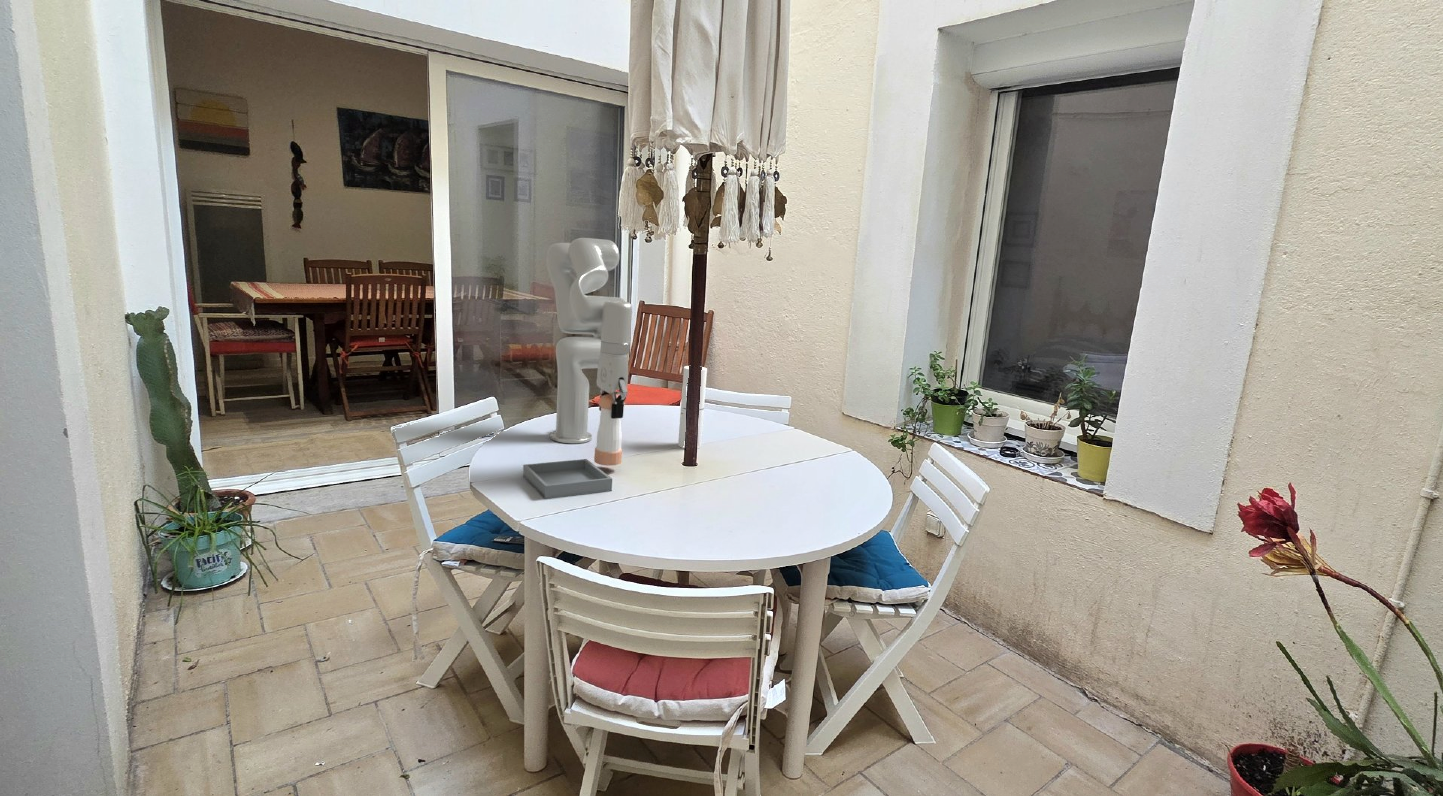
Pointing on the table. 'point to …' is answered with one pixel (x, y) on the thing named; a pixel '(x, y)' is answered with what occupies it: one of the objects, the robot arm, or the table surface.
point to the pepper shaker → (608, 435)
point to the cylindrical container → (683, 406)
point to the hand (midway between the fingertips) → (610, 413)
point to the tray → (566, 478)
